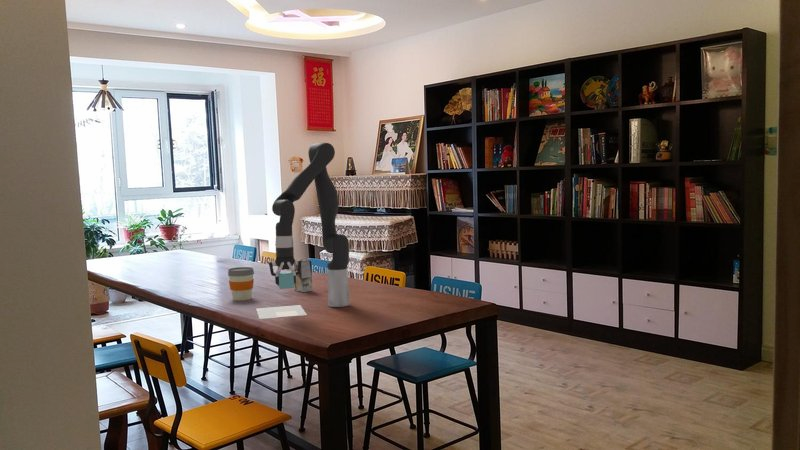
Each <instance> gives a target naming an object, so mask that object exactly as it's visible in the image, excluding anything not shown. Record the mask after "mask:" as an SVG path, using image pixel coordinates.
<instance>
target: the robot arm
mask: <svg viewBox="0 0 800 450" xmlns="http://www.w3.org/2000/svg"><path fill="white" fill-rule="evenodd" d="M335 152H336V151H335V147H334V146H333V145H332V143H329V142H316V143H313V144H311V145H310V146H309V148H308V153H307V154H308V159H309V164H308V165H307V166H306V167H305V168H304V169H302V171H300V172H299V173H298V174H297V175H296V176H295V177H294V178H293V179H292V181H291V182H290V184H288V187H286V189H285V190H284V191H283V192H282V193H281V194H280V195H279V196H277V198H276V199H275V200H274V201H273V204H272V206H271V207H272V208H271V210H272V213H273V214H274V215H275V216H279V221H278V222H276V224H275V244H274V245H275V260H273V261H268V265H269V272H270V276H272V277H274V278H275V279H274V282H275V284H276V285H277V287H278V285H279V277H278V276H279V273H280V272H282V271H283V270H284V271H285V270H287V271H291V272H292V273H293V274H294V285H295V283H296V275H298V274H300V269H301V260H302V259H295V252H294V238H293V223H294V219H295V213H296V212H295V211H296V208H295V204H294V202H296V201H299V200H301V198H302V197H303V195H304V194H305V192H306V191H307V189H308V188H309V186H310V185H311V184H312V183H313V182H314V185H315V191H316V198H317V202H318V203H317V204H318V207H319V208H318V209H319V215H320V222H321V230H322V231H321V233H322V234H321V235H322V236H321V237H322V247H323V249H324V251H325V252H327V253H328V254H332V259H331V260H330V261H328V262H327V263H326V264H327V265H326V266H327V268H326V269H327V270H326V271H327V299H328V300H327V301H328V302H327V303H328V307H332V308H343V307H348V306H349V307H350V286H349V281H348V275H349V274H348V264H349V261H350V242H349V238H348V237H347V236H346V235H345V234H342V233H337V229H336V218H337V215H338V213H339V212H338V211H339V208H340V207H339V206H340V205H339V197H338V195H339V194H338V192H337V191H338V190H337V188H336V186H335V184H334V183H333V181H332V179H331V178H330V176H329V173H328V169H327V166H328V165H329V164H330V163H331V162H332V161H333V160H334V157H335V154H336V153H335ZM295 262H296V265H297V271H296V272H295V271H294V263H295ZM275 265H276V266H277V269H276V272H275V271H274V267H275Z"/></svg>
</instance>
